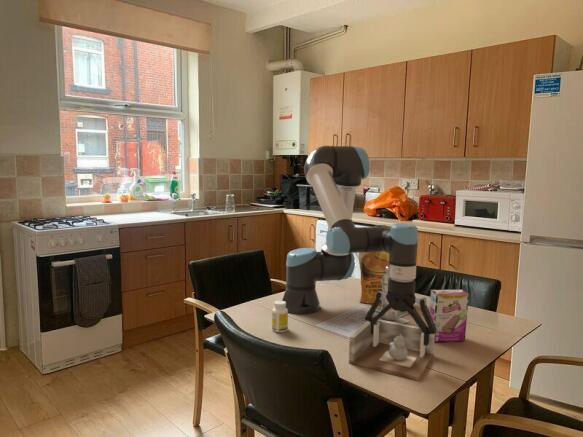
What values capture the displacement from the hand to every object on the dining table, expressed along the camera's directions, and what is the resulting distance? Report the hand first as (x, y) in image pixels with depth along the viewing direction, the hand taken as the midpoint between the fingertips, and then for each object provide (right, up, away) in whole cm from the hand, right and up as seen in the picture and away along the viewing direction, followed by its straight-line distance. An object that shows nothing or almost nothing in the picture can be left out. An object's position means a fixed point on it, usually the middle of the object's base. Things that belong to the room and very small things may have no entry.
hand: (398, 350), depth 126 cm
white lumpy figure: (0, -3, 0) cm, 3 cm away
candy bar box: (+20, -2, +18) cm, 27 cm away
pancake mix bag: (+5, +3, +57) cm, 57 cm away
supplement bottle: (-35, 0, +24) cm, 42 cm away
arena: (-1, -3, +2) cm, 4 cm away
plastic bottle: (+5, 0, +35) cm, 36 cm away
